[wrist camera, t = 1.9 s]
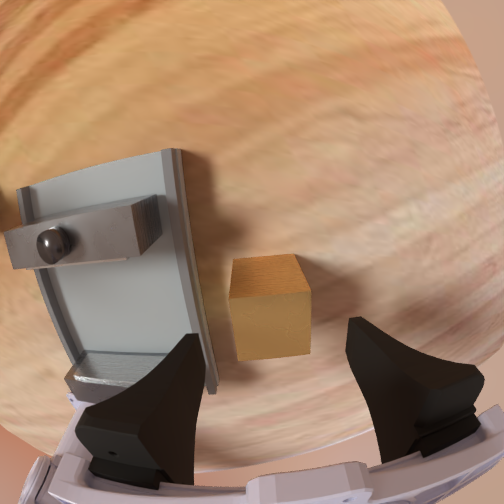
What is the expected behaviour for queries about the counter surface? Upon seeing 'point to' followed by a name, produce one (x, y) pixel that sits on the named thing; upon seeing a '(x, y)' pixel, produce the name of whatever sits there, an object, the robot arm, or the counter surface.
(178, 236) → the board
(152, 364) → the fixed jaw
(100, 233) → the bar
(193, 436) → the robot arm
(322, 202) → the counter surface
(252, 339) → the block
